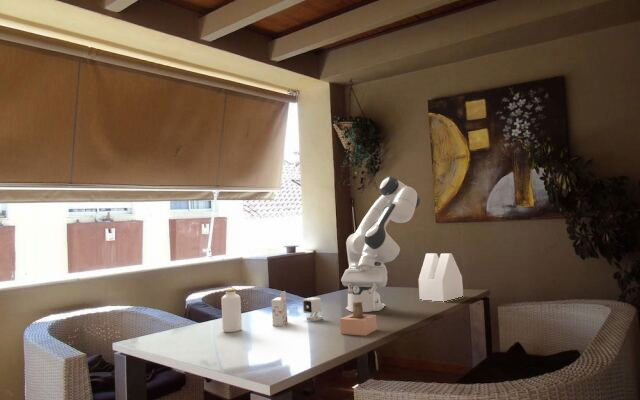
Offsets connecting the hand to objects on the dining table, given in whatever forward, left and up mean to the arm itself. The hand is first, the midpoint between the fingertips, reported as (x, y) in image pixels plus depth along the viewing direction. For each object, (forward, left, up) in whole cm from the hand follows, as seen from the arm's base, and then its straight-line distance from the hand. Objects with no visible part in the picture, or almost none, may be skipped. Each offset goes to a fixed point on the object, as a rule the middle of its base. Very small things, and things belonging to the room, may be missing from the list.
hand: (360, 293), depth 208 cm
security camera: (-10, -30, -15) cm, 35 cm away
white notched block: (-80, +10, -15) cm, 82 cm away
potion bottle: (+21, -53, -15) cm, 59 cm away
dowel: (+6, +2, -15) cm, 16 cm away
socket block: (+6, +2, -15) cm, 16 cm away
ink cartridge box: (+3, -40, -15) cm, 43 cm away
